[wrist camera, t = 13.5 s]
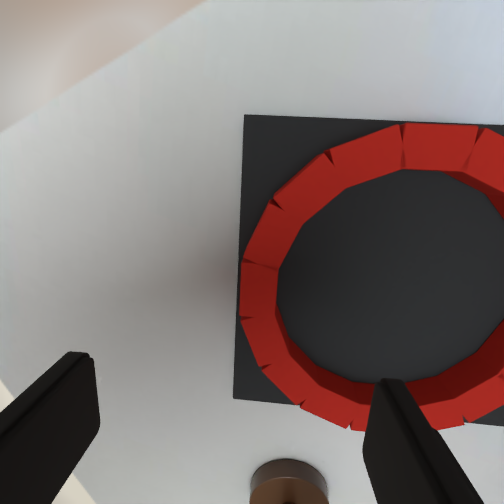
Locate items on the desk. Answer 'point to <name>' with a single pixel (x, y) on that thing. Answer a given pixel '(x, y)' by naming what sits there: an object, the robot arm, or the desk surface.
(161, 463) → the desk surface
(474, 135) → the ring
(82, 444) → the robot arm
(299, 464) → the ring holder
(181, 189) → the desk surface
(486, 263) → the mat
